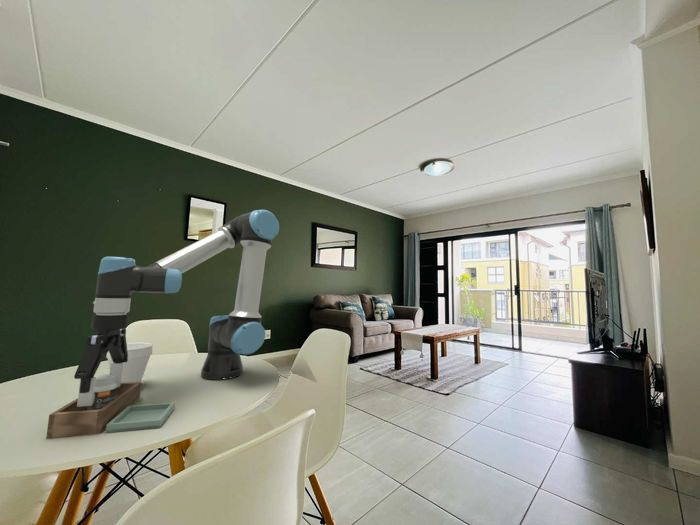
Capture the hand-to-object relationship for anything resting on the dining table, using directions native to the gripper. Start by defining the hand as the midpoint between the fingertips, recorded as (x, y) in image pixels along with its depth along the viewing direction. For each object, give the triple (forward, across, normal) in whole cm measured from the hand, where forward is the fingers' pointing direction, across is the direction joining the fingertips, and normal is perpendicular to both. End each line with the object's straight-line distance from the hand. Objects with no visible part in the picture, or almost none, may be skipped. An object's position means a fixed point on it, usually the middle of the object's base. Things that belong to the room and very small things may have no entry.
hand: (100, 395), depth 74 cm
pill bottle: (+5, 0, 0) cm, 5 cm away
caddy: (+5, 0, 0) cm, 5 cm away
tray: (+5, +5, +12) cm, 14 cm away
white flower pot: (+5, -22, -3) cm, 23 cm away
